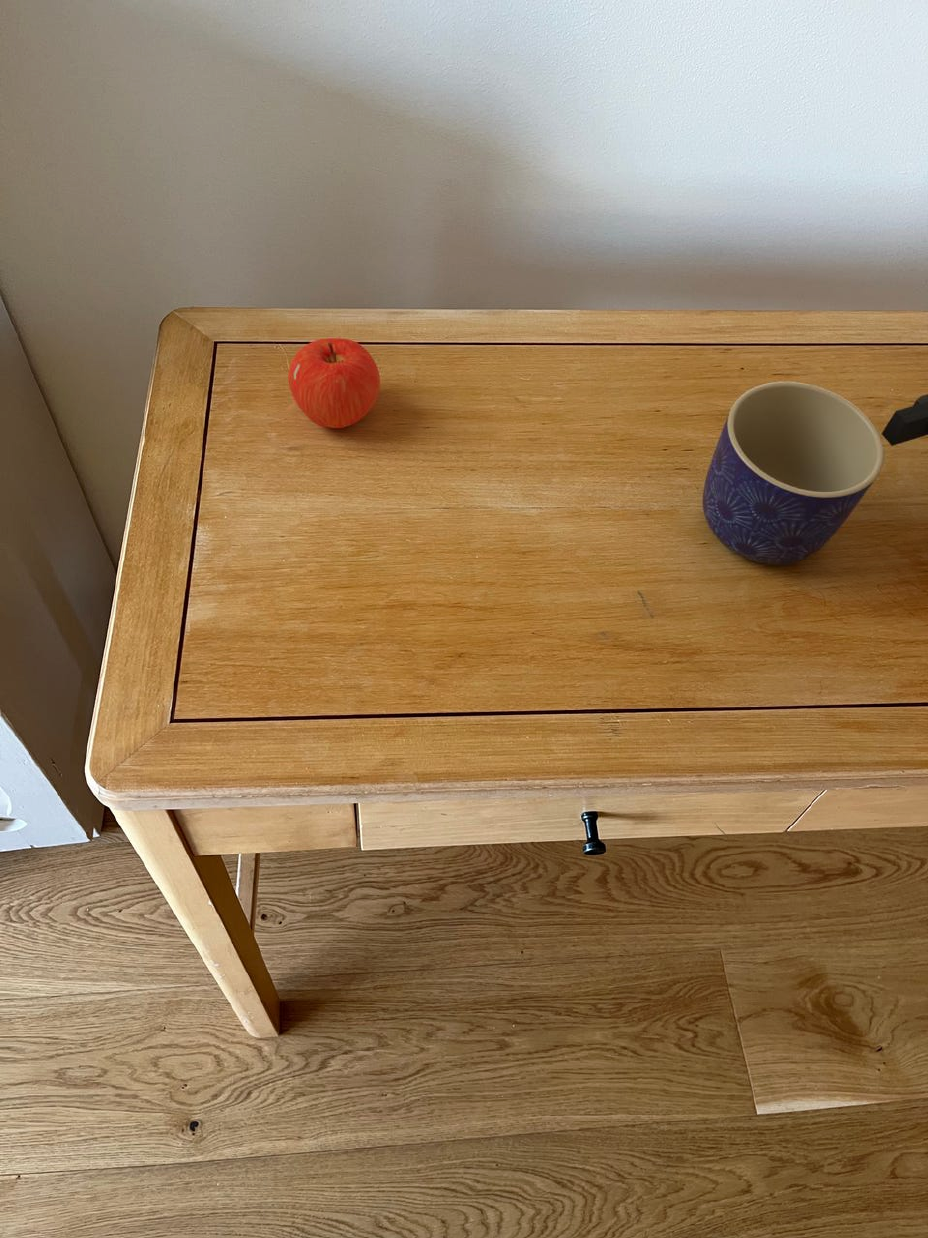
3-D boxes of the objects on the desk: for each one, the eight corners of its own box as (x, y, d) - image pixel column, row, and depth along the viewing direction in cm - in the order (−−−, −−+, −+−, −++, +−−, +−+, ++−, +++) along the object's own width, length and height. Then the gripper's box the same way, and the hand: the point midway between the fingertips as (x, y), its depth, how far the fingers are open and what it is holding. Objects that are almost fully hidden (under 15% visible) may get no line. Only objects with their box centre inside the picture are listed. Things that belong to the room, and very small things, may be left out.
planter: (665, 533, 81) (701, 445, 72) (726, 449, 87) (766, 359, 77) (796, 604, 77) (851, 522, 68) (849, 512, 83) (906, 425, 74)
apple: (306, 452, 83) (300, 385, 76) (283, 391, 87) (274, 321, 80) (391, 433, 85) (392, 365, 78) (364, 373, 89) (362, 305, 82)
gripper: (1125, 444, 84) (920, 513, 78) (1027, 350, 91) (831, 408, 84) (1184, 382, 78) (967, 452, 72) (1075, 286, 84) (866, 343, 78)
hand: (894, 428), depth 78 cm, fingers closed
